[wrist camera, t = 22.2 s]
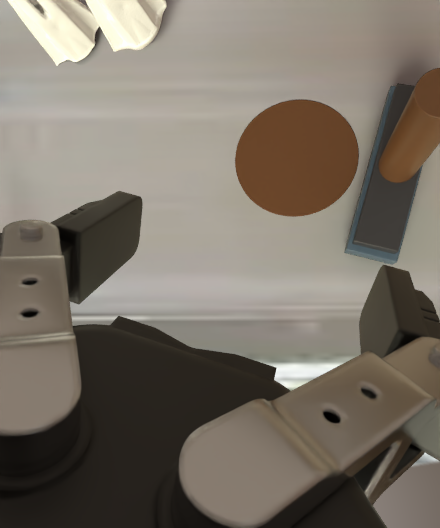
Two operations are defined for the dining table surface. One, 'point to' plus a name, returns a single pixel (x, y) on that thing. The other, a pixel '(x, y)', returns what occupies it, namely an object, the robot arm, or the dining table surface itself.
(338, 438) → the robot arm
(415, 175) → the sponge wiper
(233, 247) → the dining table surface
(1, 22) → the dining table surface
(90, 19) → the shaker set
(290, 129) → the brown round coaster
